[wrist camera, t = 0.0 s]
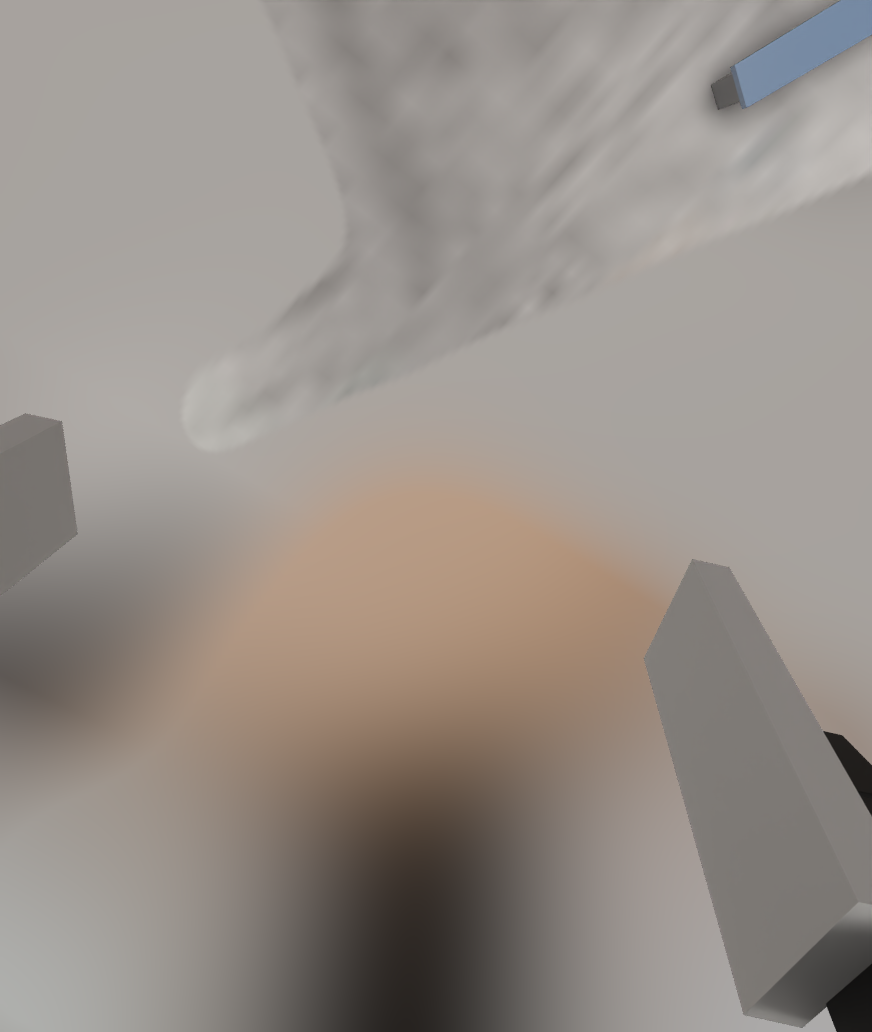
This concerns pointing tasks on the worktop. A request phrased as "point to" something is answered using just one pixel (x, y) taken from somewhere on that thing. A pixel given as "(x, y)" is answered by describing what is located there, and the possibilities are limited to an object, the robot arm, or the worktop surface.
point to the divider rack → (795, 53)
